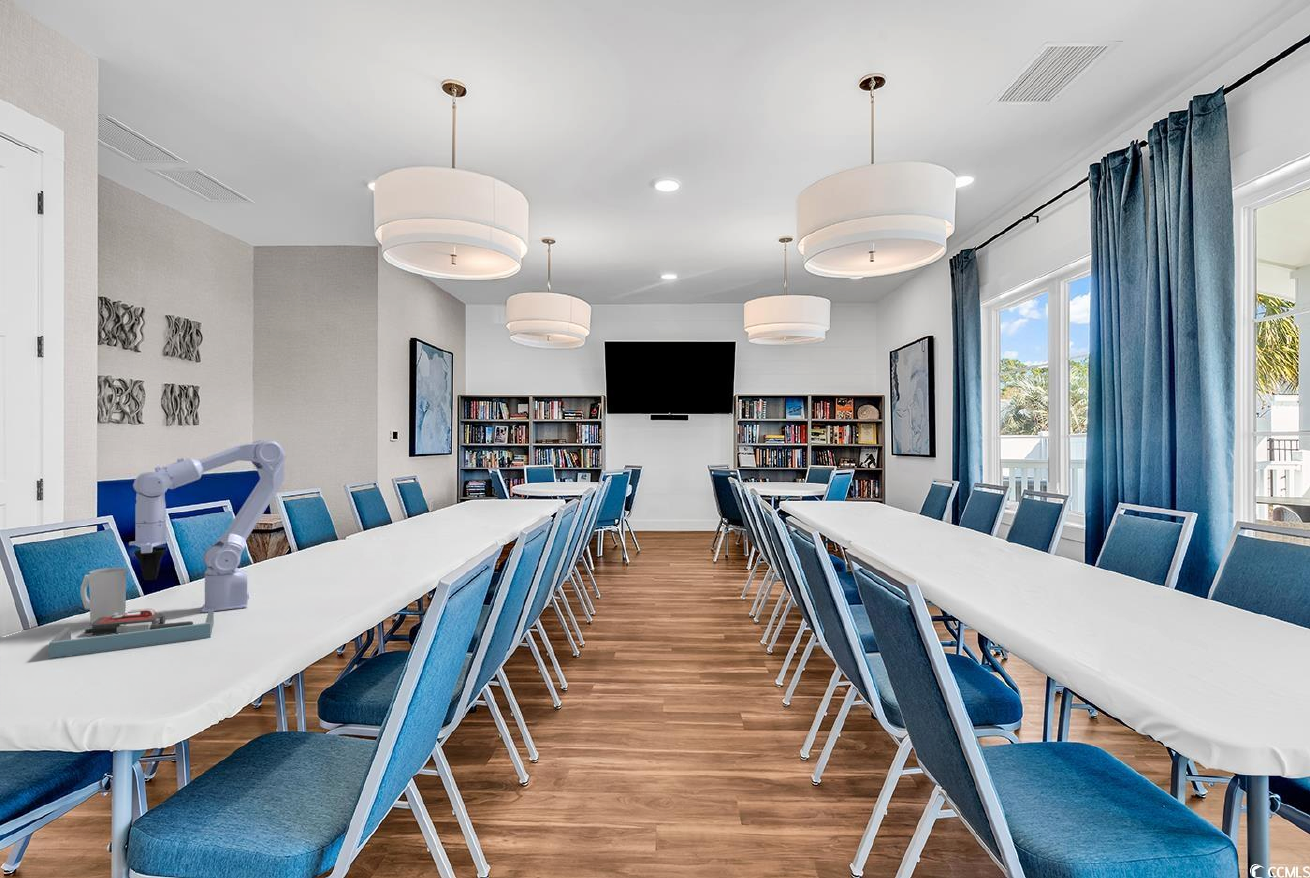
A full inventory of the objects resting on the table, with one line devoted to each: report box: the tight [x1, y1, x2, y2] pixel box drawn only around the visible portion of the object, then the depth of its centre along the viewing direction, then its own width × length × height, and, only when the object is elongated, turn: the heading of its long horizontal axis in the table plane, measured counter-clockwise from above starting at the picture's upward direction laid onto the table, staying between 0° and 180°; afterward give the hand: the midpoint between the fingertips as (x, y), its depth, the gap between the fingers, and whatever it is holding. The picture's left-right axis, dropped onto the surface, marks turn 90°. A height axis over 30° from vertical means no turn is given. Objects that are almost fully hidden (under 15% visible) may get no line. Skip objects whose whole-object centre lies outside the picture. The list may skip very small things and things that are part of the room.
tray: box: [48, 611, 215, 659], centre depth 139 cm, size 26×12×3 cm, turn 122°
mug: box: [80, 567, 127, 625], centre depth 153 cm, size 10×7×12 cm, turn 86°
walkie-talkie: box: [84, 607, 194, 636], centre depth 147 cm, size 9×4×20 cm
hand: (150, 579), depth 155 cm, fingers closed
